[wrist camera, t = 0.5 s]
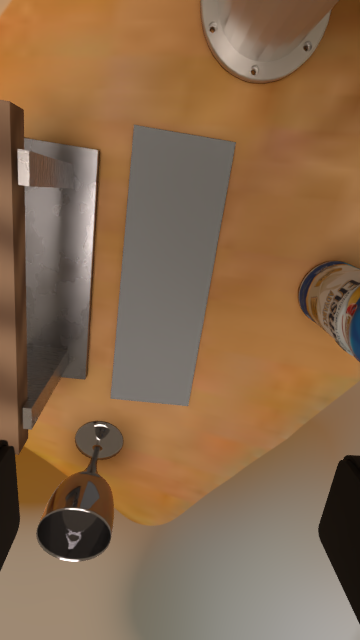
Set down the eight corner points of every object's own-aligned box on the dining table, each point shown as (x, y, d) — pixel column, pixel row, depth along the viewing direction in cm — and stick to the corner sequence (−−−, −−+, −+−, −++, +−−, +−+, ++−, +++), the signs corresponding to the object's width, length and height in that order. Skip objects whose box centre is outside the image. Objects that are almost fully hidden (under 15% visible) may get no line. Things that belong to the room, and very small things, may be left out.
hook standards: (4, 135, 36) (-87, 102, 23) (99, 151, 37) (63, 128, 24) (12, 367, 45) (-50, 437, 32) (87, 375, 46) (56, 446, 33)
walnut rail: (-19, 102, 25) (-38, 93, 22) (23, 109, 25) (9, 101, 23) (-2, 435, 35) (-14, 451, 33) (28, 437, 35) (18, 454, 33)
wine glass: (60, 439, 50) (20, 535, 36) (99, 409, 48) (72, 497, 34) (99, 470, 52) (75, 571, 38) (136, 442, 51) (126, 537, 37)
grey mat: (134, 126, 36) (134, 124, 35) (234, 143, 37) (235, 142, 36) (111, 396, 48) (110, 398, 47) (187, 403, 49) (188, 406, 48)
